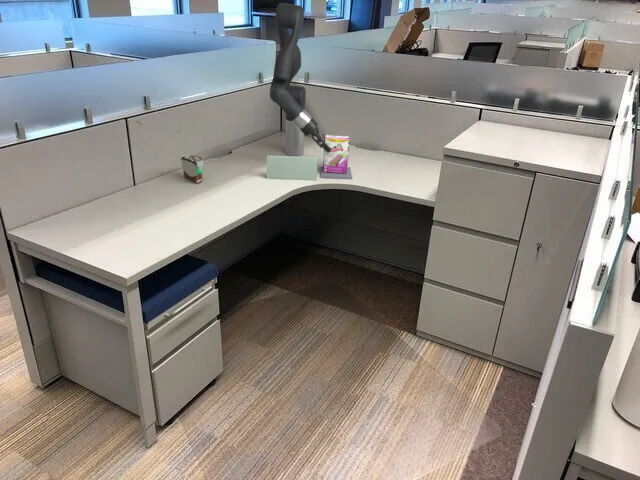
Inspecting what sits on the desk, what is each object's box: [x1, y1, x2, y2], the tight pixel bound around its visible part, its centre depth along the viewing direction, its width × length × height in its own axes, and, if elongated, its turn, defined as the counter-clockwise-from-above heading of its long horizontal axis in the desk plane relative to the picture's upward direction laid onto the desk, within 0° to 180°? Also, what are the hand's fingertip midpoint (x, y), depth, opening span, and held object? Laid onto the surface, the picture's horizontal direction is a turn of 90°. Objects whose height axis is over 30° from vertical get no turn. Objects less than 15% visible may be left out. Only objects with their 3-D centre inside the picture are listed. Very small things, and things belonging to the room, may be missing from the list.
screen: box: [266, 155, 319, 181], centre depth 221 cm, size 2×22×10 cm, turn 91°
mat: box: [320, 165, 353, 180], centre depth 232 cm, size 14×14×1 cm
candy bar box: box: [322, 134, 351, 174], centre depth 228 cm, size 11×5×16 cm, turn 87°
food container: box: [180, 154, 205, 185], centre depth 216 cm, size 12×6×10 cm, turn 47°
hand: (329, 148), depth 227 cm, fingers open, 8 cm apart
